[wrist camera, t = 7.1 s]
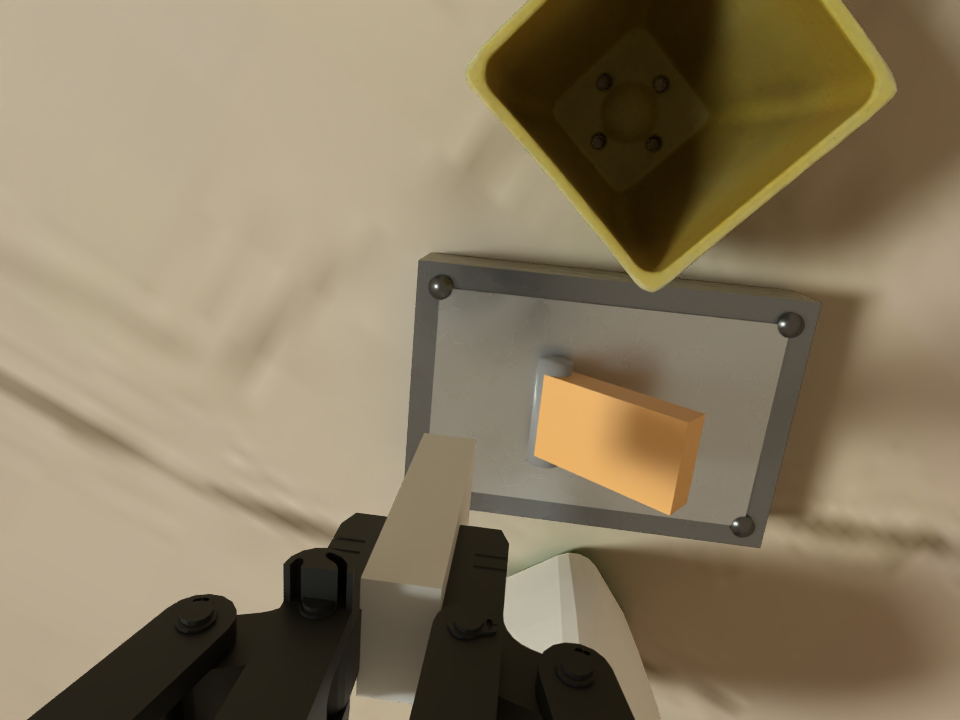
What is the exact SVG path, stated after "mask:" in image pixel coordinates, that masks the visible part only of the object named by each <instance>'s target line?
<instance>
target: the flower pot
mask: <svg viewBox="0 0 960 720" xmlns="http://www.w3.org/2000/svg"><path fill="white" fill-rule="evenodd" d="M465 75H466V80H467V82H468V84H469V86H470V88H471V89H472V90H473V91H474V92H475V93H476V94H477V96H478V97H479V98H480V99H481V100H482V102H483V103H484V104H485V105H486V106H487V107H488V108H489V109H490V111H491V112H492V113H493V114H494V115H495V116H496V117H497V118H498V119H499V120H500V122H501V123H502V124H503V125H504V126H505V127H506V128H507V129H508V130H509V131H510V133H511V134H512V135H513V136H514V137H515V138H516V139H517V140H518V142H519V143H520V144H521V145H522V146H523V147H524V149H525V150H526V151H527V152H528V153H529V154H530V155H531V156H532V158H533V159H534V160H535V161H536V162H537V163H538V164H539V166H540V167H541V168H542V169H543V170H544V172H545V173H546V174H547V175H548V176H549V177H550V178H551V179H552V181H553V182H554V183H555V184H556V186H557V187H558V188H559V189H560V190H561V192H562V193H563V194H564V195H565V196H566V198H567V199H568V200H569V201H570V202H571V204H572V205H573V206H574V207H575V209H576V210H577V211H578V212H579V214H580V215H581V216H582V217H583V218H584V220H585V221H586V222H587V223H588V225H589V226H590V227H591V228H592V230H593V231H594V232H595V233H596V234H597V236H598V237H599V238H600V239H601V240H602V242H603V243H604V244H605V245H606V247H607V248H608V249H609V250H610V252H611V253H612V254H613V255H614V257H615V258H616V259H617V260H618V262H619V263H620V264H621V265H622V267H623V268H624V269H625V270H626V272H627V273H628V274H629V276H630V277H631V278H632V279H633V281H634V282H635V283H636V284H637V285H638V286H639V287H640V288H641V289H643V290H646V291H648V292H656V291H658V290H660V289H661V288H663V287H664V286H666V285H667V284H668V283H670V282H671V281H672V280H673V279H674V278H676V277H677V276H678V275H679V274H681V273H682V272H683V271H684V270H685V269H686V268H687V267H689V266H690V265H691V264H692V263H693V262H695V261H696V260H697V259H698V258H699V257H701V256H702V255H703V254H704V253H706V252H707V251H708V250H709V249H710V248H712V247H713V246H714V245H715V244H716V243H718V242H719V241H720V240H721V239H722V238H724V237H725V236H726V235H727V234H728V233H730V232H731V231H732V230H733V229H734V228H736V227H737V226H738V225H739V224H741V223H742V222H743V221H744V220H745V219H747V218H748V217H749V216H750V215H752V214H753V213H754V212H755V211H757V210H758V209H759V208H760V207H761V206H763V205H764V204H765V203H766V202H768V201H769V200H770V199H771V198H772V197H774V196H775V195H776V194H778V193H779V192H780V191H781V190H783V189H784V188H785V187H786V186H788V185H789V184H790V183H791V182H793V181H794V180H795V179H796V178H797V177H799V176H800V175H801V174H802V173H803V172H804V171H806V170H807V169H808V168H809V167H811V166H812V165H813V164H814V163H816V162H817V161H818V160H819V159H821V158H822V157H823V156H824V155H826V154H827V153H828V152H830V151H831V150H832V149H834V148H835V147H836V146H837V145H838V144H839V143H841V142H842V141H843V140H844V139H845V138H847V137H848V136H849V135H850V134H852V133H853V132H854V131H855V130H857V129H858V128H859V127H860V126H862V125H863V124H864V123H865V122H867V121H868V120H869V119H870V118H872V117H873V116H874V115H875V114H876V113H877V112H878V111H879V110H881V109H882V108H883V107H884V106H885V105H886V104H887V103H888V102H889V101H890V100H891V99H892V98H893V97H894V96H895V94H896V93H897V89H898V88H897V84H896V81H895V78H894V75H893V73H892V71H891V70H890V68H889V66H888V64H887V63H886V61H885V60H884V59H883V57H882V56H881V54H880V53H879V52H878V51H877V49H876V47H875V46H874V44H873V43H872V42H871V40H870V39H869V38H868V36H867V34H866V33H865V31H864V30H863V28H862V27H861V26H860V24H859V23H858V22H857V20H856V19H855V17H854V16H853V15H852V13H851V12H850V11H849V10H848V8H847V7H846V5H845V4H844V3H843V1H842V0H528V1H527V2H526V3H525V4H524V5H523V6H522V7H521V8H520V9H519V10H518V11H517V12H516V13H515V14H514V15H513V16H512V17H511V18H510V19H509V20H508V21H507V22H506V23H505V24H504V25H503V26H502V27H501V28H500V29H499V30H498V31H497V32H496V33H495V34H494V35H493V36H492V37H491V38H490V39H489V40H488V41H487V42H486V43H485V44H484V45H483V46H482V48H481V49H480V50H479V51H478V52H477V53H476V54H475V56H474V57H473V58H472V59H471V61H470V62H469V64H468V66H467V69H466V73H465ZM603 75H606V76H609V77H610V79H611V85H610V87H609V88H608V89H606V90H601V89H600V88H599V87H598V85H597V82H598V79H599V78H600V77H601V76H603ZM660 77H662V78H665V79H666V80H667V83H668V85H667V88H666V90H664V91H663V92H657V91H656V90H655V89H654V86H653V84H654V82H655V80H656V79H657V78H660ZM597 134H602V135H603V136H604V137H605V144H604V146H603V147H601V148H595V147H594V146H593V145H592V139H593V137H594V136H595V135H597ZM650 137H657V138H658V139H659V140H660V146H659V148H658V149H657V150H655V151H651V150H649V149H648V148H647V140H648V139H649V138H650Z"/></svg>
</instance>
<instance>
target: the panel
mask: <svg viewBox="0 0 960 720" xmlns="http://www.w3.org/2000/svg"><path fill="white" fill-rule="evenodd" d="M821 304H822V303H821V302H819V301H816V300H814V299H811V298H809V297H806V296H804V295H801V294H799V293H797V292H794V291H792V290H782V289H772V288H763V287H753V286H744V285H734V284H725V283H715V282H706V281H696V280H687V279H677V278H674V279H673V280H672V281H671V282H670V283H668V284H667V285H666V286H664V287H663V288H661V289H660V290H658V291H656V292H648V291H646V290H643V289H641V288H640V287H639V286H638V285H637V284H636V283H635V282H634V281H633V279H632V278H631V277H630V276H629V274H628V273H620V272H611V271H601V270H592V269H582V268H573V267H563V266H554V265H544V264H535V263H525V262H516V261H506V260H497V259H487V258H478V257H468V256H458V255H449V254H439V253H430V254H428V255H426V256H425V257H423V258H421V259H420V260H419V262H418V277H417V293H416V308H415V323H414V339H413V354H412V370H411V385H410V400H409V416H408V431H407V446H406V462H405V476H406V473H407V471H408V469H409V467H410V464H411V462H412V460H413V457H414V455H415V453H416V451H417V448H418V446H419V444H420V441H421V439H422V437H423V435H424V433H428V434H436V435H444V436H452V437H461V438H469V439H476V449H475V459H474V469H473V480H472V490H471V500H470V510H475V511H482V512H490V513H498V514H505V515H513V516H520V517H528V518H535V519H543V520H551V521H558V522H566V523H573V524H581V525H588V526H596V527H604V528H611V529H619V530H626V531H634V532H641V533H649V534H657V535H664V536H672V537H679V538H687V539H694V540H702V541H710V542H717V543H725V544H732V545H740V546H747V547H755V548H760V547H761V543H762V539H763V535H764V531H765V527H766V523H767V519H768V515H769V511H770V507H771V503H772V499H773V495H774V491H775V487H776V483H777V479H778V475H779V471H780V467H781V463H782V459H783V455H784V451H785V447H786V443H787V439H788V435H789V431H790V427H791V423H792V419H793V415H794V411H795V407H796V403H797V399H798V395H799V391H800V387H801V383H802V379H803V375H804V371H805V367H806V364H807V360H808V356H809V352H810V348H811V344H812V340H813V336H814V332H815V328H816V324H817V320H818V316H819V312H820V308H821ZM543 356H556V357H562V358H566V359H569V360H571V361H572V362H573V370H572V371H573V372H576V373H579V374H582V375H585V376H588V377H591V378H594V379H598V380H601V381H604V382H607V383H610V384H613V385H616V386H620V387H623V388H626V389H629V390H632V391H635V392H638V393H642V394H645V395H648V396H651V397H654V398H657V399H660V400H664V401H667V402H670V403H673V404H676V405H679V406H682V407H685V408H689V409H692V410H695V411H698V412H701V413H704V414H705V419H704V424H703V429H702V433H701V438H700V443H699V448H698V453H697V457H696V462H695V467H694V472H693V477H692V481H691V486H690V491H689V496H688V501H687V503H686V504H685V505H684V506H682V507H681V508H680V509H678V510H677V511H676V512H674V513H673V514H672V515H670V516H669V515H667V514H665V513H662V512H660V511H658V510H656V509H653V508H651V507H649V506H647V505H644V504H642V503H640V502H638V501H635V500H633V499H631V498H629V497H626V496H624V495H622V494H620V493H617V492H615V491H613V490H611V489H608V488H606V487H604V486H602V485H599V484H597V483H595V482H592V481H590V480H588V479H586V478H583V477H581V476H579V475H577V474H574V473H572V472H570V471H568V470H565V469H563V468H561V467H559V466H557V467H555V468H550V469H545V468H538V467H535V466H533V465H531V464H529V463H528V462H527V461H526V456H527V448H528V440H529V432H530V424H531V416H532V408H533V400H534V392H535V384H536V376H537V368H538V360H539V358H540V357H543ZM404 478H405V477H404Z"/></svg>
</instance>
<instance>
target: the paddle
mask: <svg viewBox="0 0 960 720" xmlns="http://www.w3.org/2000/svg"><path fill="white" fill-rule="evenodd" d="M572 370H573V362H572V361H571V360H569V359H566V358H562V357H556V356H543V357H540V358H539V360H538V368H537V376H536V384H535V392H534V400H533V408H532V416H531V424H530V432H529V440H528V448H527V456H526V461H527V462H528V463H529V464H531V465H533V466H535V467H538V468H545V469H550V468H555V467H557V466H559V467H561V468H563V469H565V470H568V471H570V472H572V473H574V474H577V475H579V476H581V477H583V478H586V479H588V480H590V481H592V482H595V483H597V484H599V485H602V486H604V487H606V488H608V489H611V490H613V491H615V492H617V493H620V494H622V495H624V496H626V497H629V498H631V499H633V500H635V501H638V502H640V503H642V504H644V505H647V506H649V507H651V508H653V509H656V510H658V511H660V512H662V513H665V514H667V515H669V516H670V515H672V514H673V513H674V512H676V511H677V510H678V509H680V508H681V507H682V506H684V505H685V504H686V503H687V501H688V496H689V491H690V486H691V481H692V477H693V472H694V467H695V462H696V457H697V453H698V448H699V443H700V438H701V433H702V429H703V424H704V419H705V414H704V413H701V412H698V411H695V410H692V409H689V408H685V407H682V406H679V405H676V404H673V403H670V402H667V401H664V400H660V399H657V398H654V397H651V396H648V395H645V394H642V393H638V392H635V391H632V390H629V389H626V388H623V387H620V386H616V385H613V384H610V383H607V382H604V381H601V380H598V379H594V378H591V377H588V376H585V375H582V374H579V373H576V372H573V371H572Z"/></svg>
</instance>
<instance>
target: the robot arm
mask: <svg viewBox="0 0 960 720" xmlns="http://www.w3.org/2000/svg"><path fill="white" fill-rule="evenodd" d="M475 449H476V439H469V438H461V437H452V436H444V435H436V434H428V433H424V435H423V437H422V439H421V441H420V444H419V446H418V448H417V451H416V453H415V455H414V457H413V460H412V462H411V464H410V467H409V469H408V471H407V473H406V476H405V478H404V480H403V483H402V485H401V487H400V489H399V492H398V494H397V496H396V499H395V501H394V503H393V505H392V508H391V510H390V512H389V515H388V517H385V516H377V515H370V514H362V513H355V514H354V515H352V516H351V517H350V518H348V519H347V520H345V521H344V522H343V523H341V525H340V527H339V528H338V530H337V532H336V534H335V536H334V539H332V541H331V543H330V545H329V546H328V548H313V549H309V550H304V551H301V552H299V553H297V554H295V555H293V556H291V557H290V558H289V559H288V560H287V561H286V562H285V563H284V602H283V603H282V605H281V607H280V608H278V609H275V610H273V611H268V612H262V613H253V614H243V615H237V612H236V608H235V606H234V604H233V602H232V601H230V600H228V599H227V598H225V597H223V596H218V595H212V594H206V595H195V596H192V597H189V598H186V599H183V600H180V601H178V602H177V603H175V604H173V605H172V606H170V607H168V608H167V609H166V610H164V611H163V612H162V613H161V614H159V615H158V616H157V617H156V618H154V619H153V620H152V621H151V622H149V623H148V624H147V625H146V626H144V627H143V628H142V629H140V630H139V631H138V632H137V633H135V634H134V635H133V636H132V637H130V638H129V639H128V640H127V641H125V642H124V643H123V644H122V645H120V646H119V647H118V648H117V649H115V650H114V651H113V652H112V653H110V654H109V655H108V656H107V657H105V658H104V659H103V660H101V661H100V662H99V663H98V664H96V665H95V666H94V667H93V668H91V669H90V670H89V671H88V672H86V673H85V674H84V675H83V676H81V677H80V678H79V679H78V680H76V681H75V682H74V683H73V684H71V685H70V686H69V687H68V688H66V689H65V690H64V691H62V692H61V693H60V694H59V695H57V696H56V697H55V698H54V699H52V700H51V701H50V702H49V703H47V704H46V705H45V706H44V707H42V708H41V709H40V710H39V711H37V712H36V713H35V714H34V715H32V716H31V717H30V718H29V719H27V720H348V718H349V709H350V695H351V692H352V689H353V687H354V684H355V681H356V678H357V687H356V696H361V697H367V698H374V699H381V700H388V701H394V702H401V703H408V704H413V706H412V711H411V715H410V719H409V720H635V718H634V716H633V714H632V711H631V709H630V707H629V705H628V702H627V700H626V698H625V696H624V693H623V691H622V689H621V687H620V685H619V682H618V680H617V678H616V676H615V673H614V671H613V669H612V667H611V666H610V665H609V663H608V662H607V660H606V659H605V658H604V657H603V656H602V655H600V654H599V653H598V652H596V651H595V650H594V649H591V648H589V647H586V646H584V645H581V644H576V643H567V642H565V643H560V644H555V645H552V646H551V647H549V648H548V649H546V650H545V651H543V653H539V652H537V651H534V650H532V649H530V648H528V647H526V646H524V645H522V644H521V643H519V642H518V641H517V640H516V639H514V638H513V637H512V635H511V634H510V633H509V632H508V631H507V628H506V626H505V624H504V617H503V613H504V600H505V588H506V575H507V562H508V549H509V543H508V541H507V539H506V538H505V536H504V534H503V532H502V530H497V529H489V528H481V527H474V526H468V521H469V511H470V500H471V490H472V480H473V469H474V459H475Z"/></svg>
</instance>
